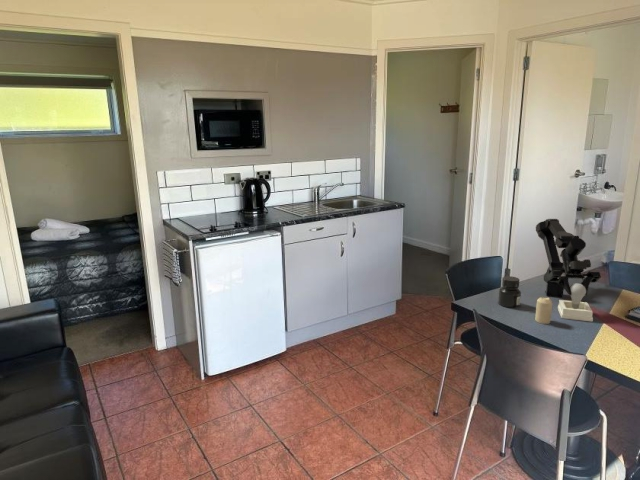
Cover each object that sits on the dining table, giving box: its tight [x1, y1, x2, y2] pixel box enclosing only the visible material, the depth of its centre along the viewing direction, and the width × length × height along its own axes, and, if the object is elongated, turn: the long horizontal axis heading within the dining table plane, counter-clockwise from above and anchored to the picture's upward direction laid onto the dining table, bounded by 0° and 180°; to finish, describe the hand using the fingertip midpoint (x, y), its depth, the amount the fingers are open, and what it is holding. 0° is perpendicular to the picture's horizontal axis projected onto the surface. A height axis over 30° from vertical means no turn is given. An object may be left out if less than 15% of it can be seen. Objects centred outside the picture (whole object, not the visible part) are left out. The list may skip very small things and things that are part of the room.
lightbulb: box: [569, 282, 586, 309], centre depth 182 cm, size 6×6×11 cm
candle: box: [534, 296, 553, 325], centre depth 177 cm, size 6×6×10 cm
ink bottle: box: [497, 275, 522, 309], centre depth 195 cm, size 10×9×12 cm
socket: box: [557, 299, 594, 322], centre depth 183 cm, size 11×11×4 cm
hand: (578, 295), depth 181 cm, fingers closed on lightbulb, 6 cm apart
